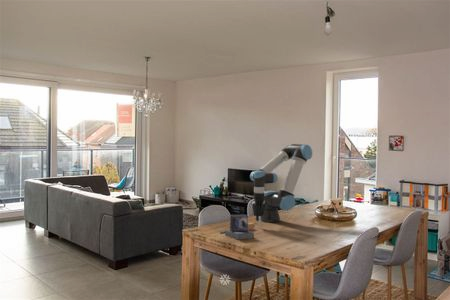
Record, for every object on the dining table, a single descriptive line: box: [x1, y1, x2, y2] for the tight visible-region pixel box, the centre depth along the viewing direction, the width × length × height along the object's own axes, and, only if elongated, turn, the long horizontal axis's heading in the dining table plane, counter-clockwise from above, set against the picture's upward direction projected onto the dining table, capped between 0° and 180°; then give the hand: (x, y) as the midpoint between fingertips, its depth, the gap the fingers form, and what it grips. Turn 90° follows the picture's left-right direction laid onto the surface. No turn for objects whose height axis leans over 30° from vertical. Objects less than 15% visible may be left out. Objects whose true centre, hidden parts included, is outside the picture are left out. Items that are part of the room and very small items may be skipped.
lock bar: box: [248, 222, 256, 231], centre depth 272 cm, size 13×3×4 cm, turn 126°
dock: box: [219, 229, 255, 241], centre depth 258 cm, size 12×21×3 cm, turn 36°
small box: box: [229, 213, 249, 232], centre depth 255 cm, size 11×6×10 cm, turn 106°
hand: (258, 225), depth 279 cm, fingers closed
